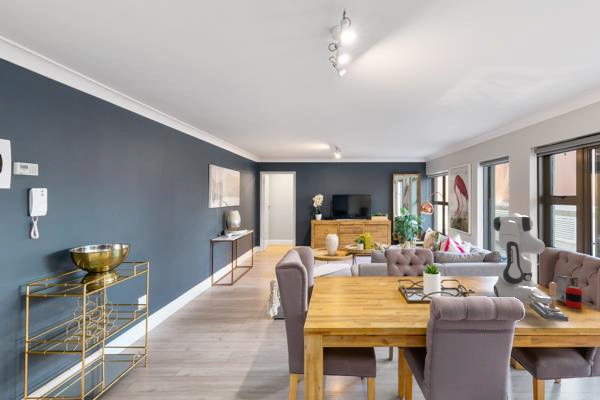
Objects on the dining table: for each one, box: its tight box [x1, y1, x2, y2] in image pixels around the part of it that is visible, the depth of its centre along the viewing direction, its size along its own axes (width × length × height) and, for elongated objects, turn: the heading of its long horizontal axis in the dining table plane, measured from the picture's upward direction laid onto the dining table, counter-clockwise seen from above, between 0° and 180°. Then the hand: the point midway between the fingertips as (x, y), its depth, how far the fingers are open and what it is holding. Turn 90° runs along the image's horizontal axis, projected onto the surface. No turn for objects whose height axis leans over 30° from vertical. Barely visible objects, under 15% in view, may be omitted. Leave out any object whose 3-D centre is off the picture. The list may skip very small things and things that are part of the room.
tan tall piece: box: [544, 281, 562, 312], centre depth 180 cm, size 5×6×17 cm
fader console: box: [529, 300, 569, 321], centre depth 185 cm, size 22×11×4 cm, turn 161°
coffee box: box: [556, 275, 579, 303], centre depth 206 cm, size 9×6×16 cm
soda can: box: [564, 286, 583, 309], centre depth 196 cm, size 8×8×12 cm
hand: (554, 296), depth 179 cm, fingers closed on tan tall piece, 3 cm apart
